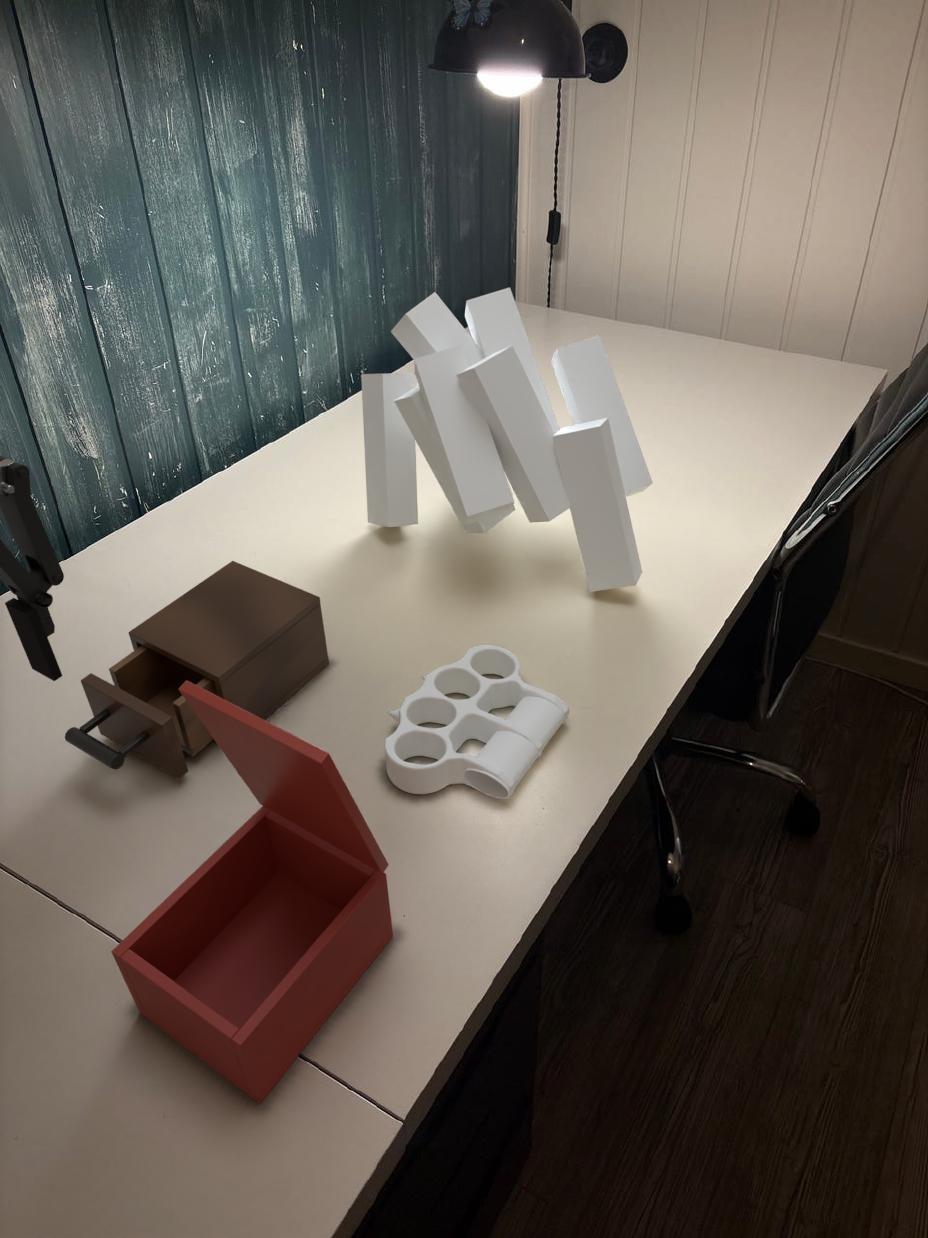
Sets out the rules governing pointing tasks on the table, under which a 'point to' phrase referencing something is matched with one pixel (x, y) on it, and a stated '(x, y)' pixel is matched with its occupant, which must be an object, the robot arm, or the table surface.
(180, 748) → the drawer
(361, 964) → the chest
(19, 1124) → the table surface
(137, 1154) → the table surface
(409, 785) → the white brass knuckles
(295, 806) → the lid
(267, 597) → the cabinet
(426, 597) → the table surface
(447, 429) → the pile of blocks
